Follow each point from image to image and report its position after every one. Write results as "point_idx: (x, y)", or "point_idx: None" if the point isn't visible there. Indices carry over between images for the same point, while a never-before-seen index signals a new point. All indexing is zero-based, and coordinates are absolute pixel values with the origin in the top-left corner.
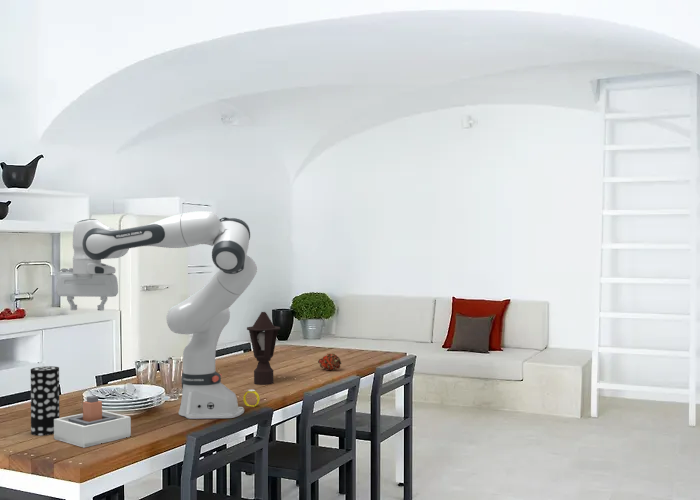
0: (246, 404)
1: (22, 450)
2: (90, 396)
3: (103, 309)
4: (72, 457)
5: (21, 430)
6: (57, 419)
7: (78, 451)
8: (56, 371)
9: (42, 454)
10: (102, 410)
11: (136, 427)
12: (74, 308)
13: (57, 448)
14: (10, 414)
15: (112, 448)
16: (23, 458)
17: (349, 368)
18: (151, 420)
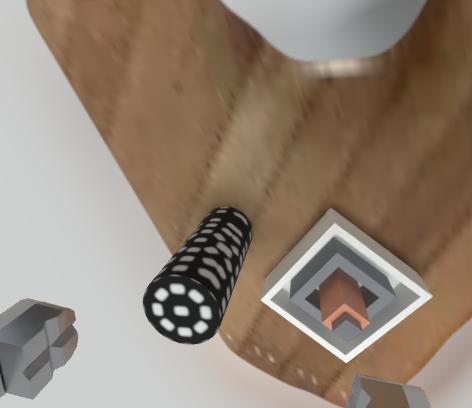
0: None
1: (244, 335)
2: (341, 327)
3: (418, 401)
4: (339, 378)
5: (176, 216)
6: (268, 302)
7: None
8: (222, 317)
9: (285, 358)
10: (342, 229)
11: (415, 198)
12: (63, 363)
13: (296, 332)
14: (75, 76)
15: (395, 342)
16: (265, 372)
17: None
18: (446, 126)
